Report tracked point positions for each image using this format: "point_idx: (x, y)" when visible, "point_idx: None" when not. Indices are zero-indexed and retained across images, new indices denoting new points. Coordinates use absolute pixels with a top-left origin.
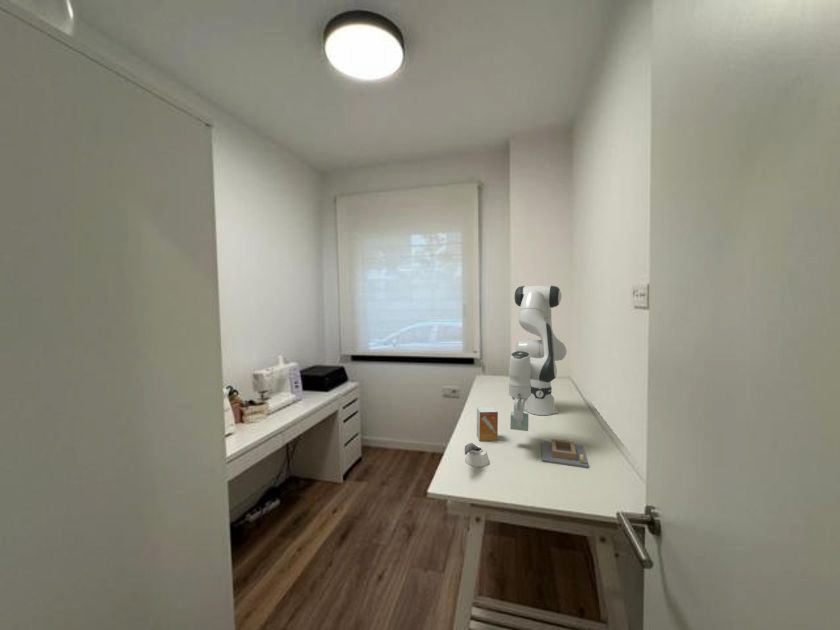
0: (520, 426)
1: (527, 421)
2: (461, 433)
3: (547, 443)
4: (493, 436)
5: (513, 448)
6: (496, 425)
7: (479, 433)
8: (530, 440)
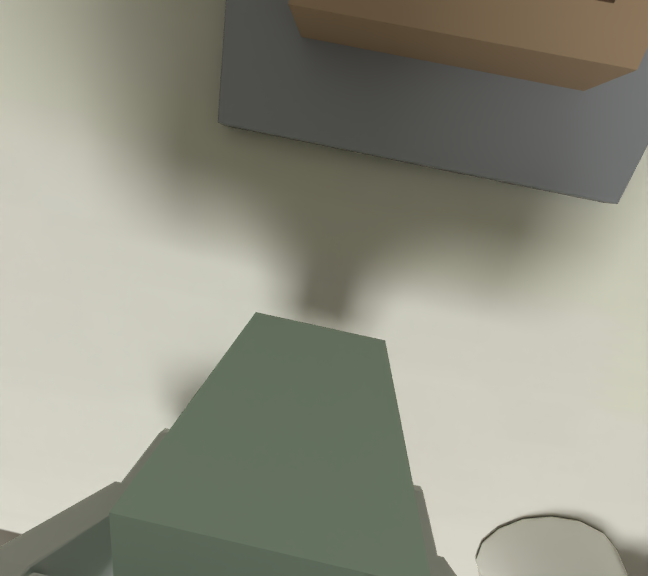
0: (416, 487)
1: (404, 464)
2: None
3: (275, 75)
4: None
5: None
6: None
7: None
8: (209, 219)
